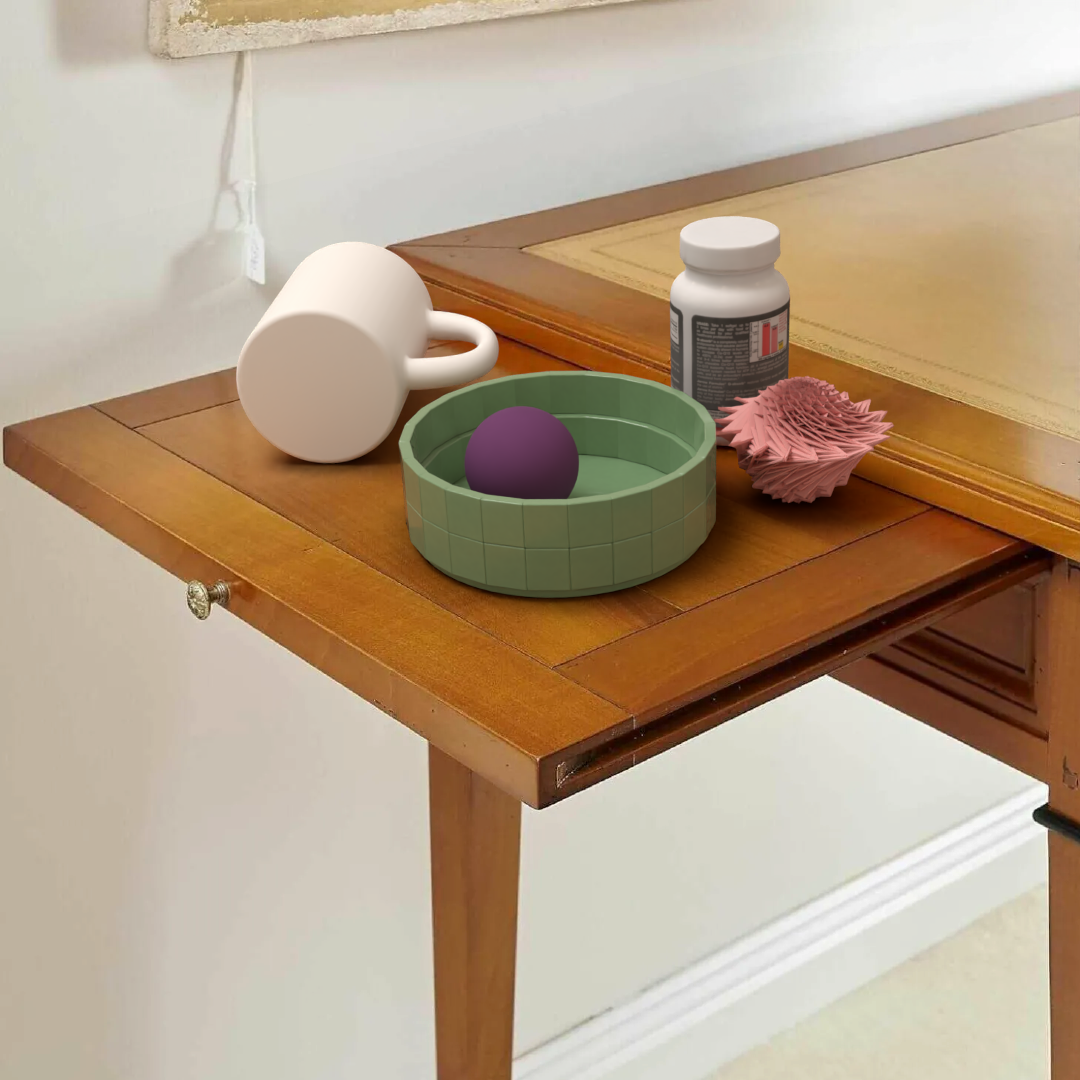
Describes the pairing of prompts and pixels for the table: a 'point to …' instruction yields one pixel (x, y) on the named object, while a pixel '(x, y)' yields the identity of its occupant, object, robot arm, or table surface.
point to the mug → (350, 353)
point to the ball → (522, 455)
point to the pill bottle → (728, 313)
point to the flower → (801, 437)
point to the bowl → (595, 502)
